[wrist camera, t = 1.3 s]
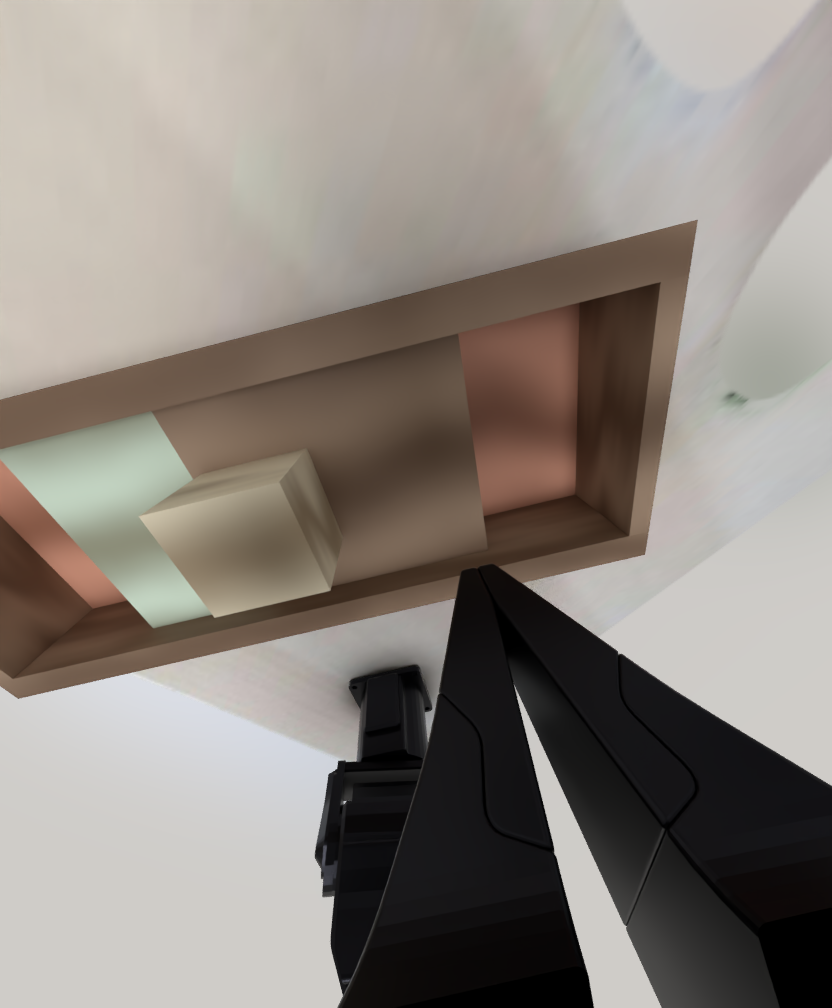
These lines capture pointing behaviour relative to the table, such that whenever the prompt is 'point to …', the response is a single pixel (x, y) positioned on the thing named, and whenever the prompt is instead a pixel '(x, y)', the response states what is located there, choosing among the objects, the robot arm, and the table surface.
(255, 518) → the maple block
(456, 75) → the table surface
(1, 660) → the tray
